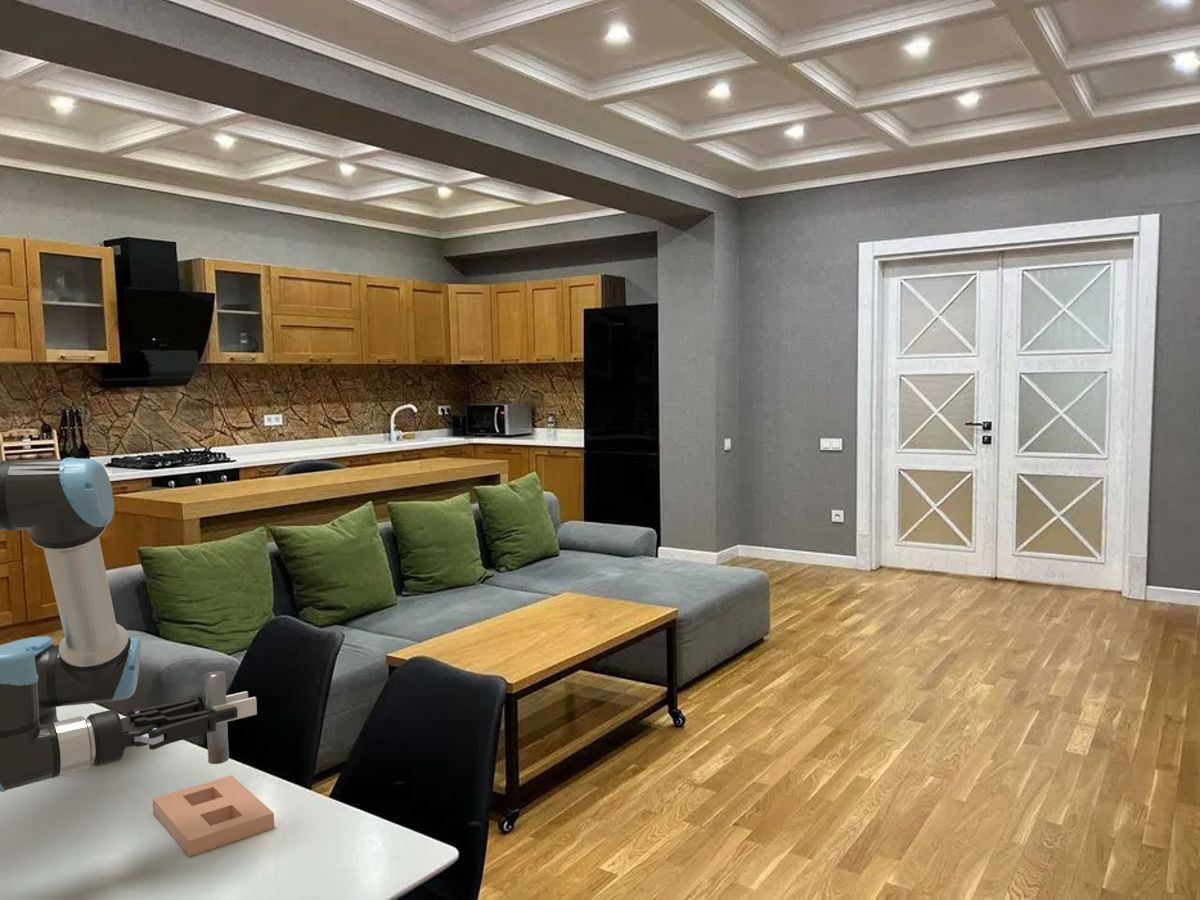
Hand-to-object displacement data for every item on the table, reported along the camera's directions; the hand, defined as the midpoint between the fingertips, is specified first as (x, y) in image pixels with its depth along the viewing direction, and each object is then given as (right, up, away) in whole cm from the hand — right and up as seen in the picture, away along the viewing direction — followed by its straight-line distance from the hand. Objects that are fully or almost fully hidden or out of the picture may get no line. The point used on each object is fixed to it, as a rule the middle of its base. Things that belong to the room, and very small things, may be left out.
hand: (251, 702), depth 146 cm
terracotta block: (-7, -20, +1) cm, 21 cm away
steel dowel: (-4, -8, -3) cm, 10 cm away
